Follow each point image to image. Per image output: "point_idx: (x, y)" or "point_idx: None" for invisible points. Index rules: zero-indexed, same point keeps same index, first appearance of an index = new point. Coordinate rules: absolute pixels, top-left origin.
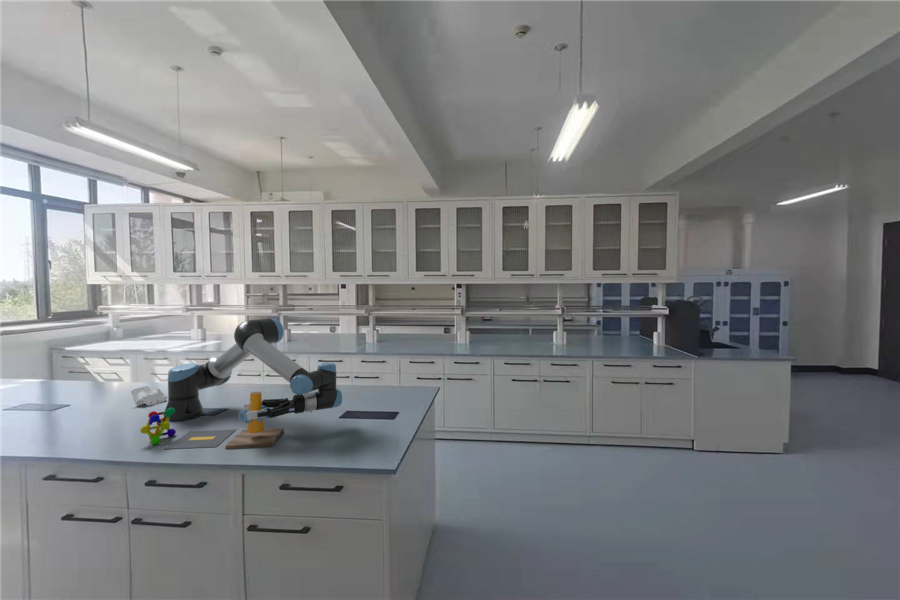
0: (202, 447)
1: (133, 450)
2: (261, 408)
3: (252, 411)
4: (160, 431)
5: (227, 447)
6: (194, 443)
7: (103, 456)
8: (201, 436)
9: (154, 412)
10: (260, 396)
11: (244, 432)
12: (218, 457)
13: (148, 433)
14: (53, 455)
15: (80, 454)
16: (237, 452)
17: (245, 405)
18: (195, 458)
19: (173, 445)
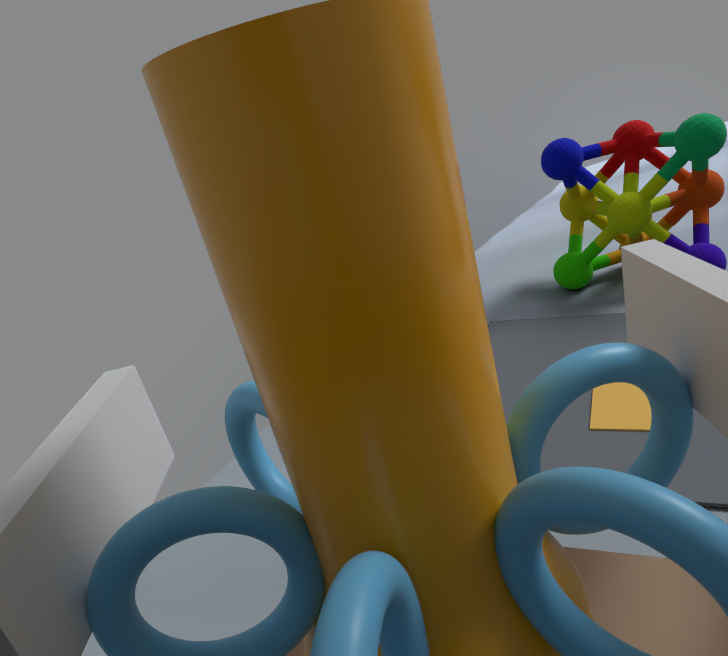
0: None
1: (517, 273)
2: (354, 494)
3: (93, 402)
4: (598, 236)
5: None
6: (532, 379)
7: (485, 253)
8: None
9: (625, 127)
10: (205, 170)
11: (697, 609)
12: (207, 537)
13: (571, 226)
14: (536, 203)
15: (525, 223)
16: (204, 640)
17: (632, 274)
18: None
19: (528, 329)
